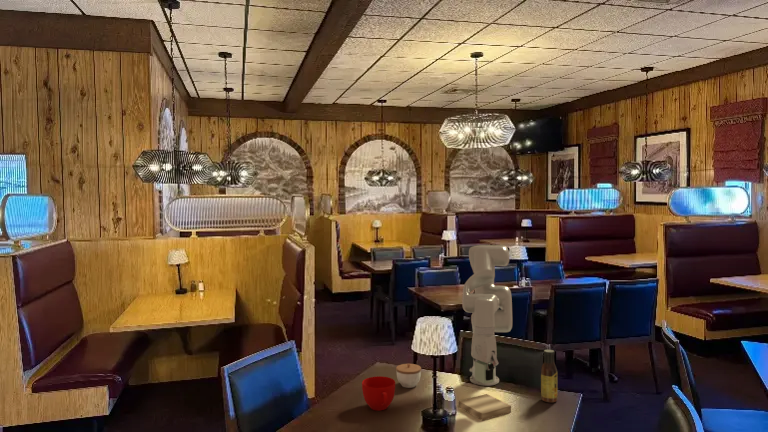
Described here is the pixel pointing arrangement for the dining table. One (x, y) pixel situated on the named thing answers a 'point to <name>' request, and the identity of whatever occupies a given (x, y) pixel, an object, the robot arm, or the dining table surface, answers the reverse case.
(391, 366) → the dining table surface
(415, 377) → the lidded jar
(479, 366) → the green block
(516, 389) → the dining table surface
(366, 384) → the ceramic cup
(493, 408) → the riser block
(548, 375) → the sauce bottle
